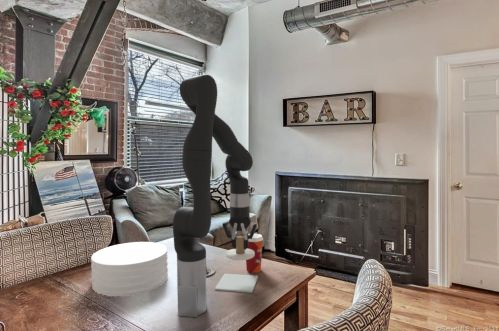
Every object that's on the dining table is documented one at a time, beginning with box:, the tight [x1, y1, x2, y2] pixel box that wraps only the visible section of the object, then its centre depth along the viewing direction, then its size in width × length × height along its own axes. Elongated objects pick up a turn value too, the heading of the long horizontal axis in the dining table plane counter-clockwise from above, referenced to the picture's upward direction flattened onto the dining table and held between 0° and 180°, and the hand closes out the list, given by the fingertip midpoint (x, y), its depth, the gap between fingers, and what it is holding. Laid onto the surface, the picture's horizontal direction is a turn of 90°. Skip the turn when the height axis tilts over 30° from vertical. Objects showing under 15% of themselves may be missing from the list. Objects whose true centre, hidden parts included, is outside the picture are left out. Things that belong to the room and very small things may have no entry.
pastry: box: [206, 265, 216, 277], centre depth 134 cm, size 12×12×5 cm
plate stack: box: [90, 241, 169, 297], centre depth 126 cm, size 28×28×12 cm
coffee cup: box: [245, 233, 264, 274], centre depth 136 cm, size 8×8×15 cm
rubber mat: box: [214, 273, 259, 294], centre depth 123 cm, size 14×14×1 cm
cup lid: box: [225, 235, 255, 261], centre depth 123 cm, size 11×11×7 cm
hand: (240, 248), depth 123 cm, fingers closed on cup lid, 3 cm apart
